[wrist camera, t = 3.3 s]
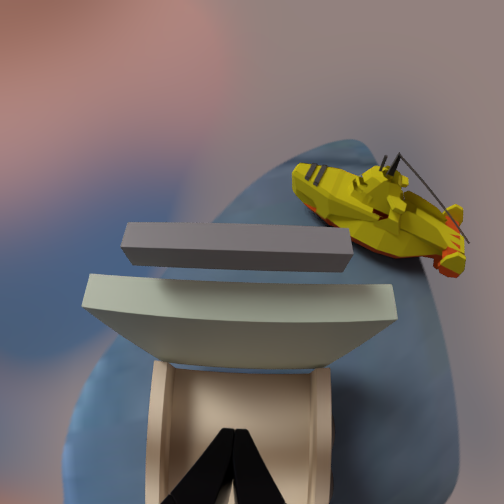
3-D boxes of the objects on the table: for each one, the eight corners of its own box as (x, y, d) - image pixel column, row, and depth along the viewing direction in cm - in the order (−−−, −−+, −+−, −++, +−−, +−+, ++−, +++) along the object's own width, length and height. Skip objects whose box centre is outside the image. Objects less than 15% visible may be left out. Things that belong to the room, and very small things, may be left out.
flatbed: (319, 522, 12) (337, 546, 8) (168, 516, 12) (146, 539, 8) (322, 378, 19) (343, 366, 15) (175, 373, 19) (154, 360, 15)
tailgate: (322, 368, 16) (427, 296, 6) (163, 361, 16) (51, 282, 6) (321, 338, 17) (411, 232, 7) (166, 332, 17) (73, 223, 7)
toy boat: (443, 298, 22) (507, 238, 14) (276, 226, 26) (286, 136, 18) (446, 249, 25) (495, 186, 17) (299, 184, 30) (313, 103, 21)
